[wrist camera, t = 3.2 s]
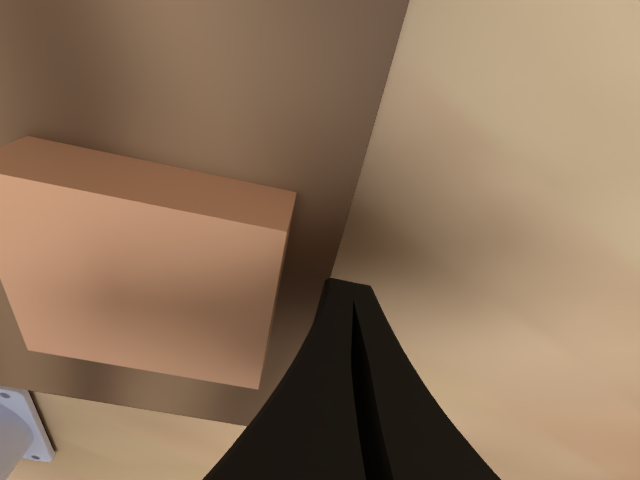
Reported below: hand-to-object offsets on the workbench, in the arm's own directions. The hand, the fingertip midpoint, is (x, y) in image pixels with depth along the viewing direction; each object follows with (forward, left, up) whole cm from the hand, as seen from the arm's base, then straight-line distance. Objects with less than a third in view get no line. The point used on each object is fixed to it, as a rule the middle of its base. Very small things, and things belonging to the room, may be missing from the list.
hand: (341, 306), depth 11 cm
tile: (-5, 0, -1) cm, 6 cm away
